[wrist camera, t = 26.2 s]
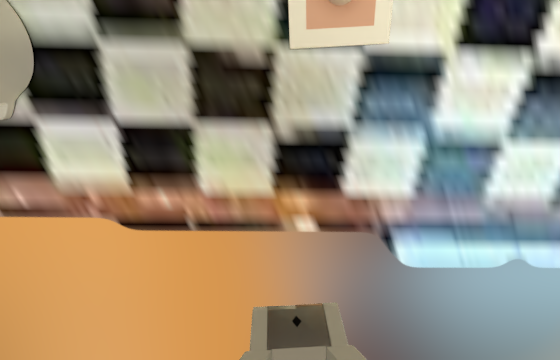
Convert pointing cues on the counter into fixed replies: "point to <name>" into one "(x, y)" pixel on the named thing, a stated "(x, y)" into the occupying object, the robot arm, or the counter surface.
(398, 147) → the counter surface
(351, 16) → the picture board
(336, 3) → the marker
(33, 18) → the counter surface
